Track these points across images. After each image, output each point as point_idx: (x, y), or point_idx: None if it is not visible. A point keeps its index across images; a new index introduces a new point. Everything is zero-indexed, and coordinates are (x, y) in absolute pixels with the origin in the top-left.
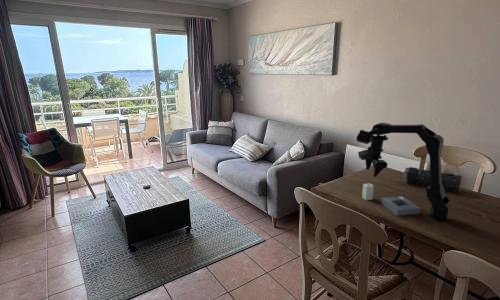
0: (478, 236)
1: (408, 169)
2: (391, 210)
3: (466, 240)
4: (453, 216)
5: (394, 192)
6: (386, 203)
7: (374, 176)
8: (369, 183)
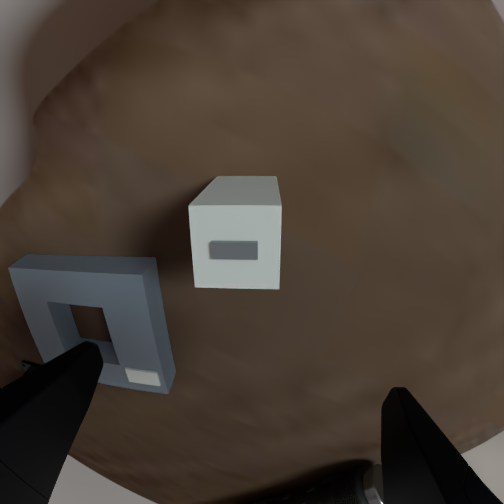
0: None
1: None
2: (57, 257)
3: None
4: None
5: (293, 396)
6: (89, 267)
7: (85, 347)
8: (278, 283)
